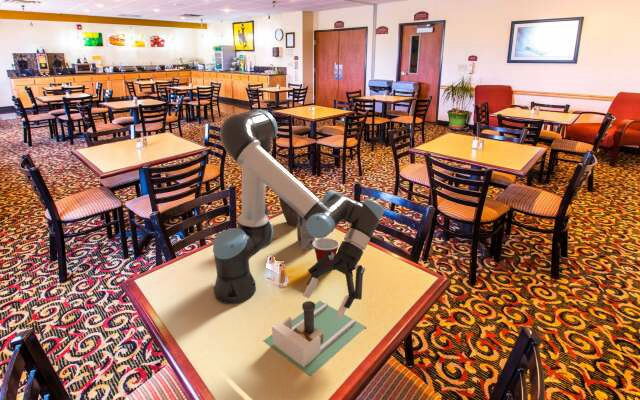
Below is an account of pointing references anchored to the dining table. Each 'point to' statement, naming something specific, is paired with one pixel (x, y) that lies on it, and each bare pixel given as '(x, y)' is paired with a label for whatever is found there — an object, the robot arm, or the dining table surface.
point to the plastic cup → (325, 247)
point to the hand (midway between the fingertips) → (321, 306)
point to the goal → (295, 343)
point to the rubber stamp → (309, 323)
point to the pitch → (325, 335)
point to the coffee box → (303, 234)
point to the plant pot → (288, 213)
